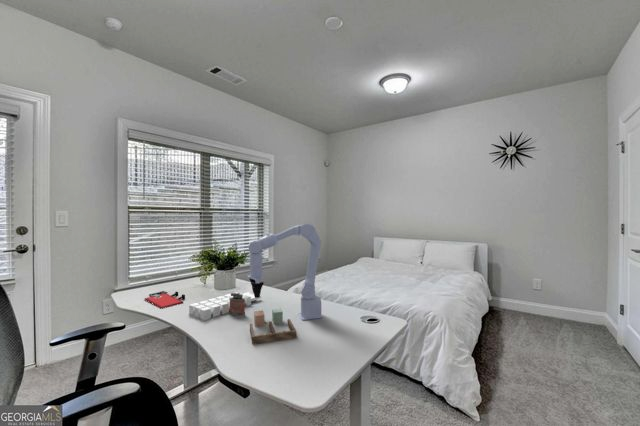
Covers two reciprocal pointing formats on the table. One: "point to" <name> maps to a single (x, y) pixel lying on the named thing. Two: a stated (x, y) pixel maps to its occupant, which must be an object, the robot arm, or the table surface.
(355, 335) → the table surface
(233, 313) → the red printed tin
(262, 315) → the terracotta block
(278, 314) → the sage block
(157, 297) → the red board with handle
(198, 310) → the organizer
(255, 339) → the rack
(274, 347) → the table surface
